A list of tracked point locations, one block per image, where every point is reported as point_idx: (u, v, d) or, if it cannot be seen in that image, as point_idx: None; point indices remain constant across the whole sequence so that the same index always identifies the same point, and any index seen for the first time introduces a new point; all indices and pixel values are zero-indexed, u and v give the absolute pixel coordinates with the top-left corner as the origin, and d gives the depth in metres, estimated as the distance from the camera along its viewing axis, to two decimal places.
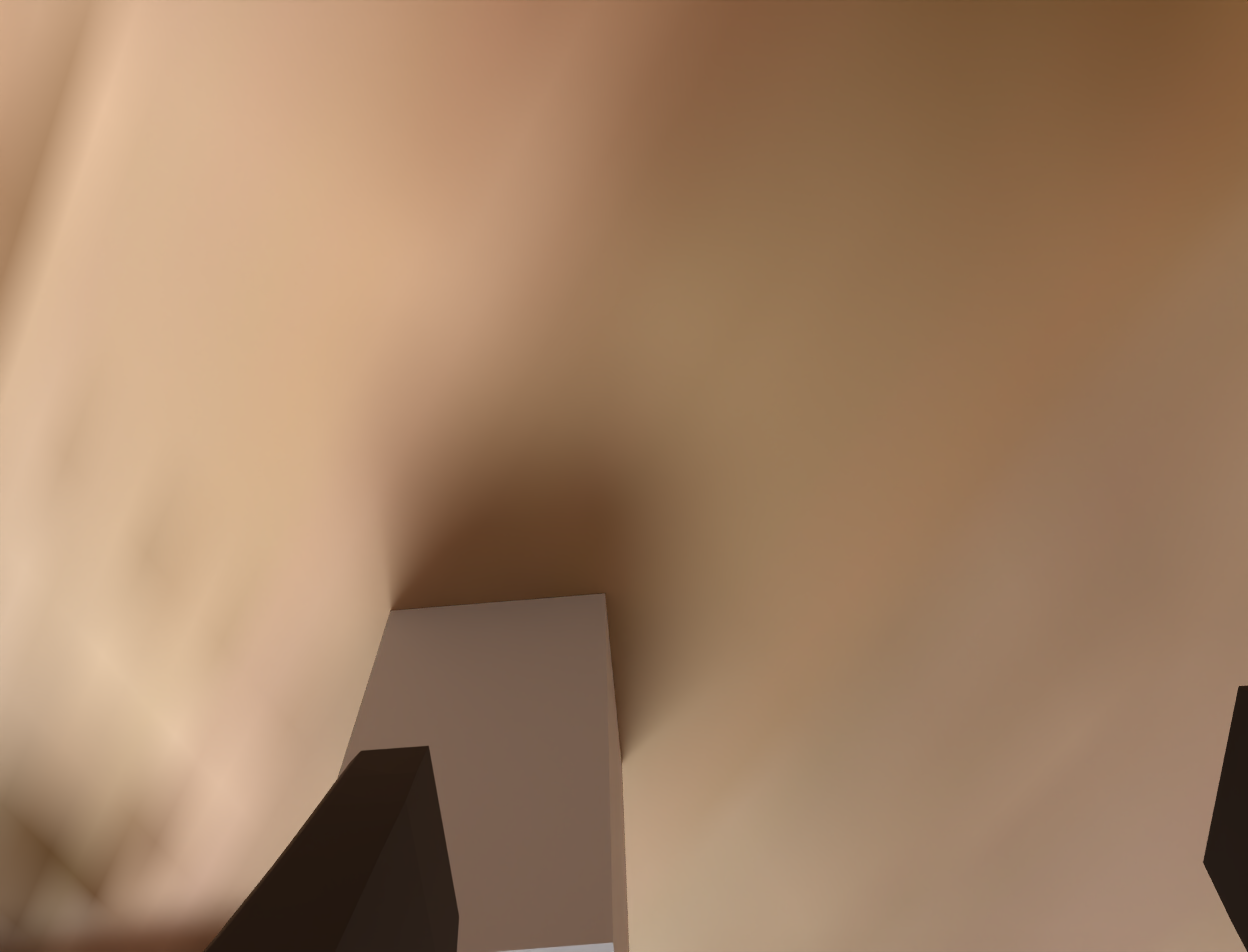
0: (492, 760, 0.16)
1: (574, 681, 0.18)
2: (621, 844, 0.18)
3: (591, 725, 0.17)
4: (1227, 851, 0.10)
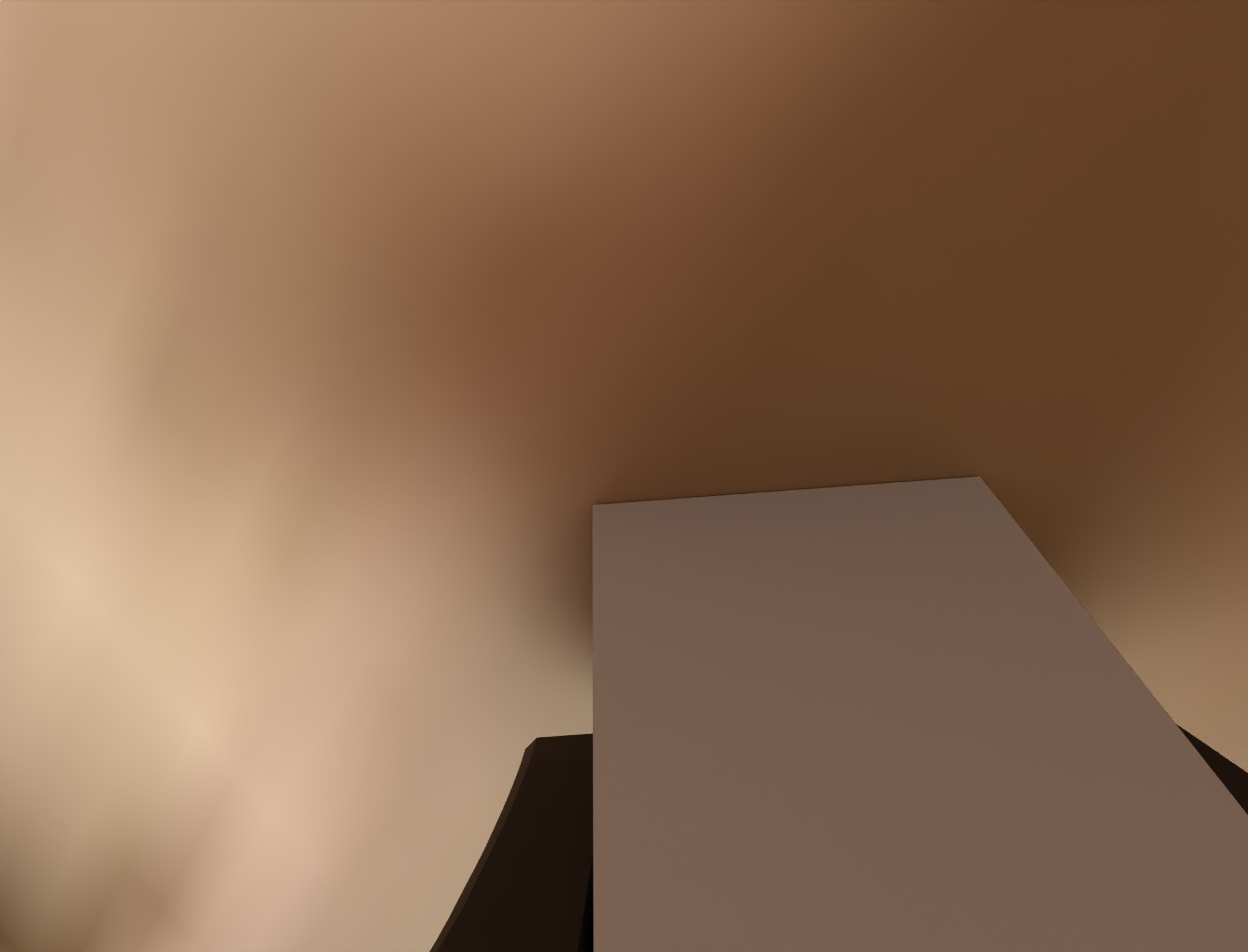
0: (943, 781, 0.07)
1: (1025, 620, 0.09)
2: None
3: (1123, 706, 0.08)
4: None
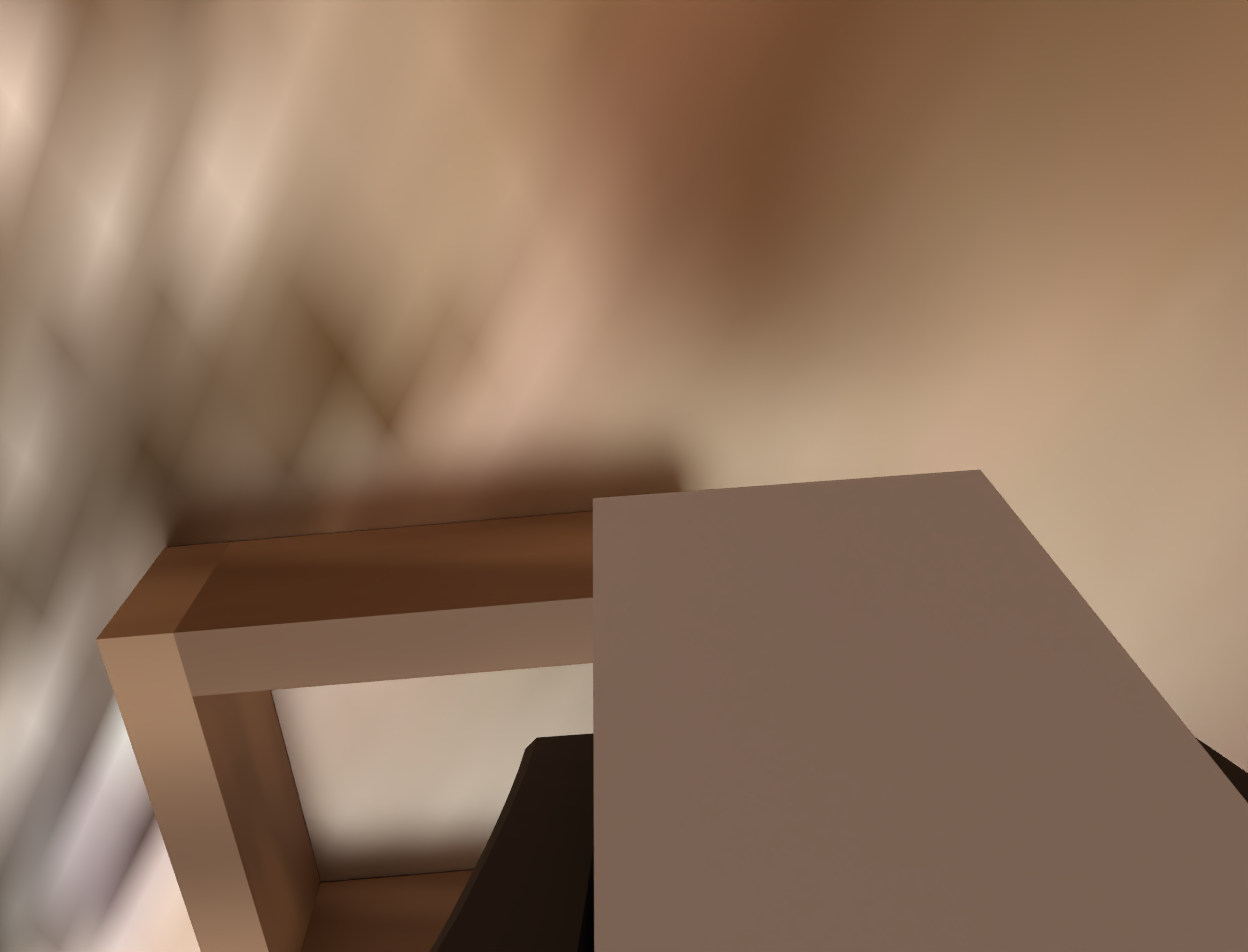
0: (943, 772, 0.07)
1: (1027, 612, 0.09)
2: None
3: (1124, 696, 0.08)
4: None
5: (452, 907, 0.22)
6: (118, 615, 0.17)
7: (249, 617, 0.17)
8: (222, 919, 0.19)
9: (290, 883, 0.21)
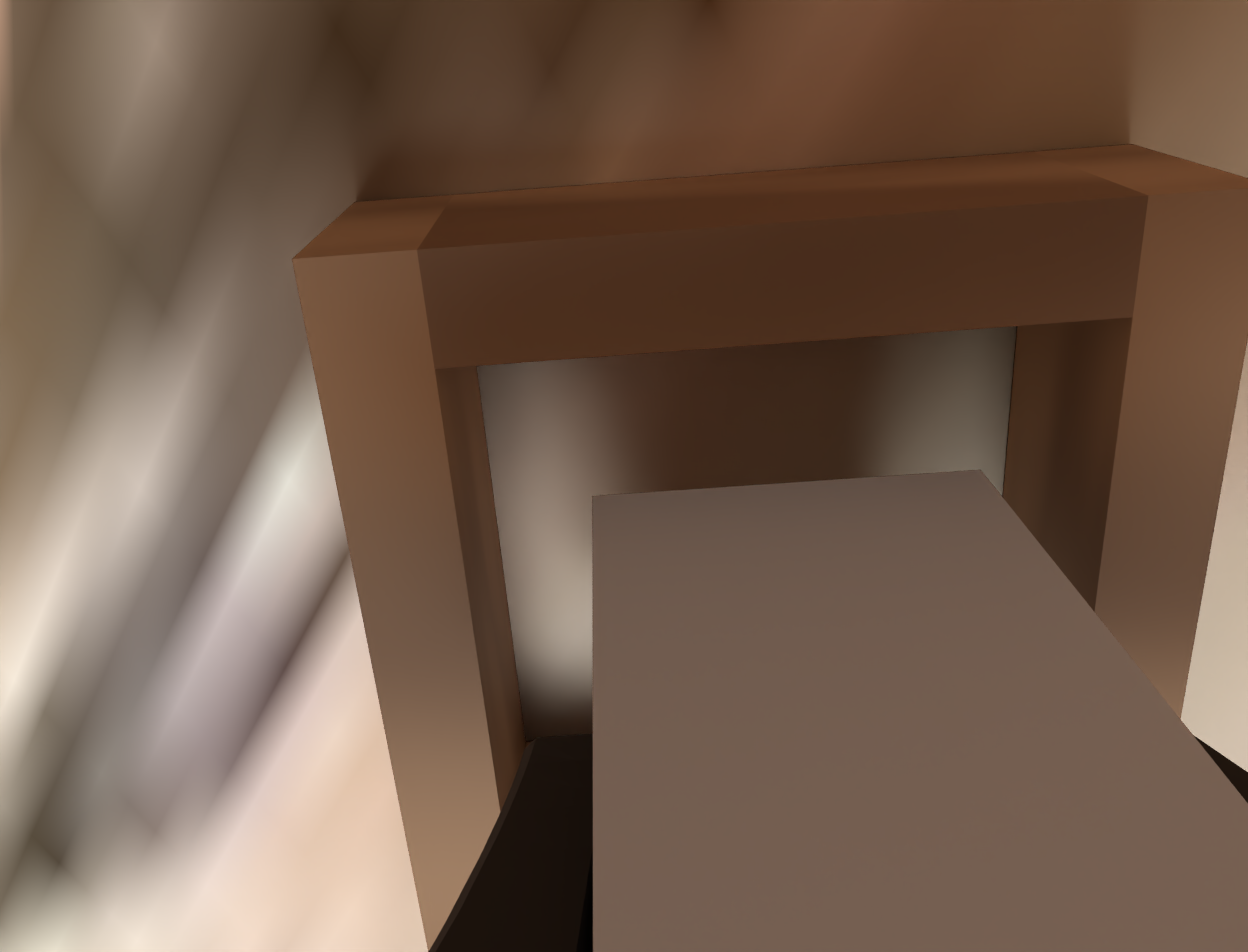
0: (944, 770, 0.07)
1: (1026, 613, 0.09)
2: None
3: (1124, 697, 0.08)
4: None
5: None
6: (316, 242, 0.11)
7: (533, 235, 0.11)
8: (437, 754, 0.13)
9: (508, 724, 0.15)
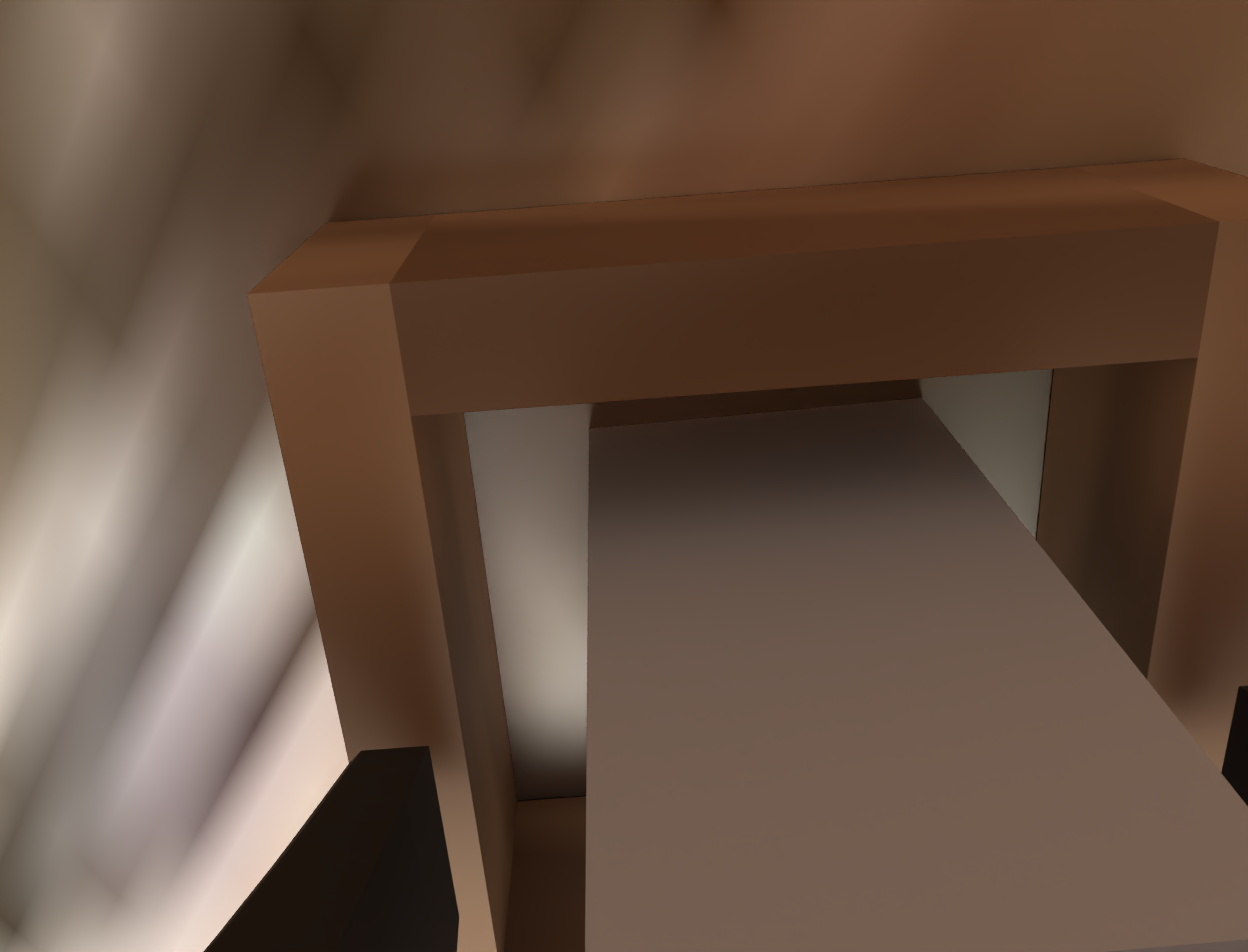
0: (864, 609, 0.09)
1: (946, 500, 0.10)
2: None
3: (1016, 555, 0.09)
4: None
5: None
6: (277, 273, 0.10)
7: (522, 266, 0.09)
8: None
9: (498, 790, 0.13)
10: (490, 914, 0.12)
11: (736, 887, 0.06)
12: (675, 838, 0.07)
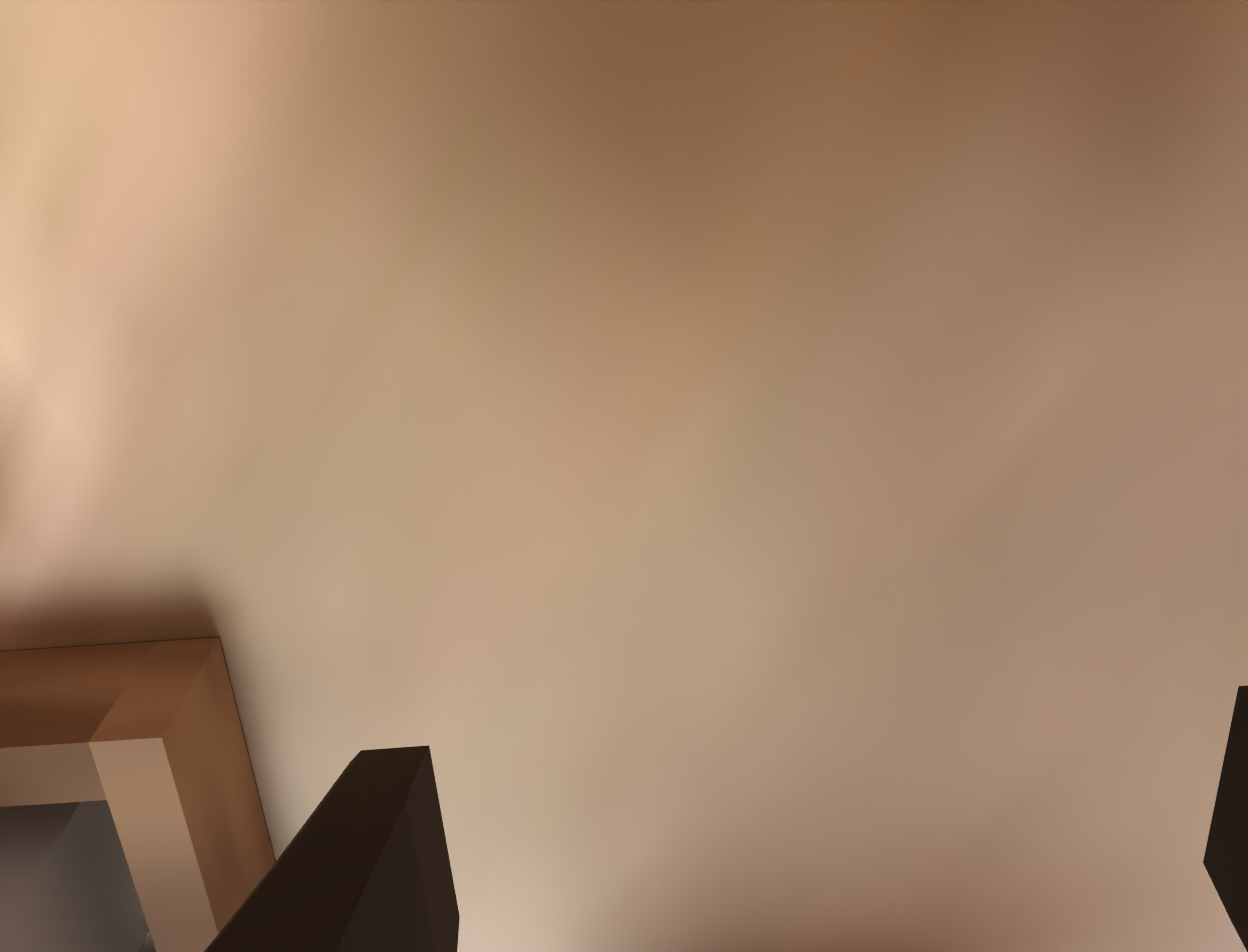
0: None
1: (18, 857, 0.19)
2: None
3: (0, 906, 0.18)
4: (1227, 851, 0.10)
5: None
6: None
7: None
8: None
9: None
10: None
11: None
12: None
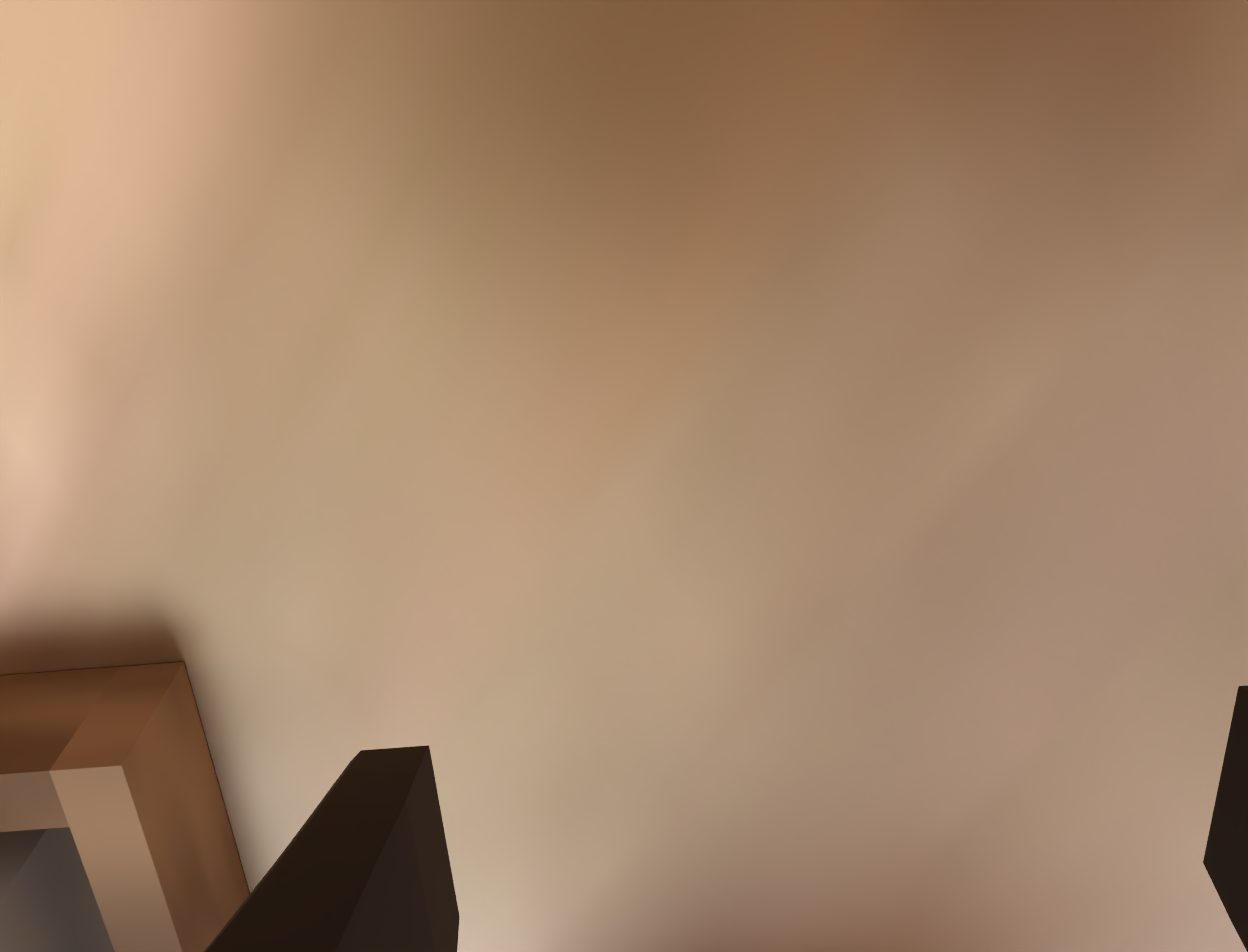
0: None
1: None
2: None
3: None
4: (1227, 851, 0.10)
5: None
6: None
7: None
8: None
9: None
10: None
11: None
12: None
